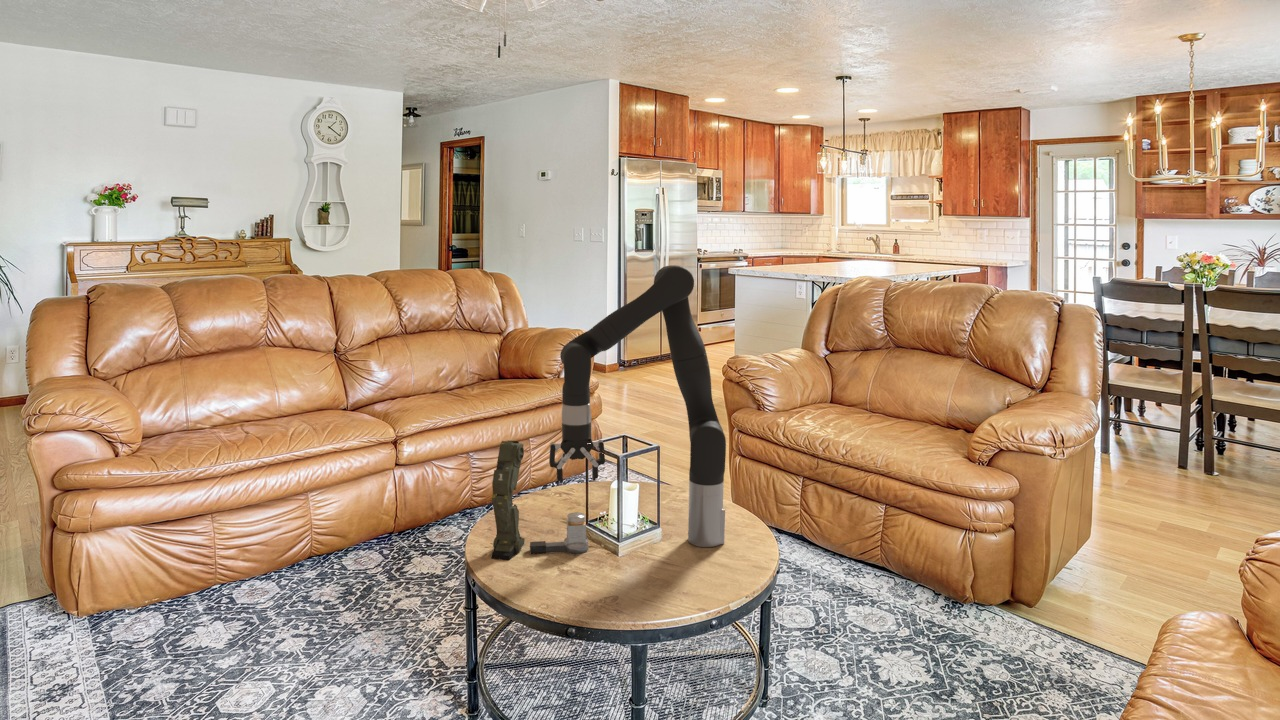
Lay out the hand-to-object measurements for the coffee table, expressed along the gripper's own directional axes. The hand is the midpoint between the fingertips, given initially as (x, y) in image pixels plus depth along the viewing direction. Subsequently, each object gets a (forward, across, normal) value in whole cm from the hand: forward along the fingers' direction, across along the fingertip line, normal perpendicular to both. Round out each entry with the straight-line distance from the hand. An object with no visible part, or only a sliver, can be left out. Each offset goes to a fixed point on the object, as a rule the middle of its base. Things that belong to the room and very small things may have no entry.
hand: (577, 481), depth 196 cm
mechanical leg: (+19, +18, -2) cm, 26 cm away
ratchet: (+19, +5, 0) cm, 19 cm away
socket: (+16, 0, 0) cm, 16 cm away
